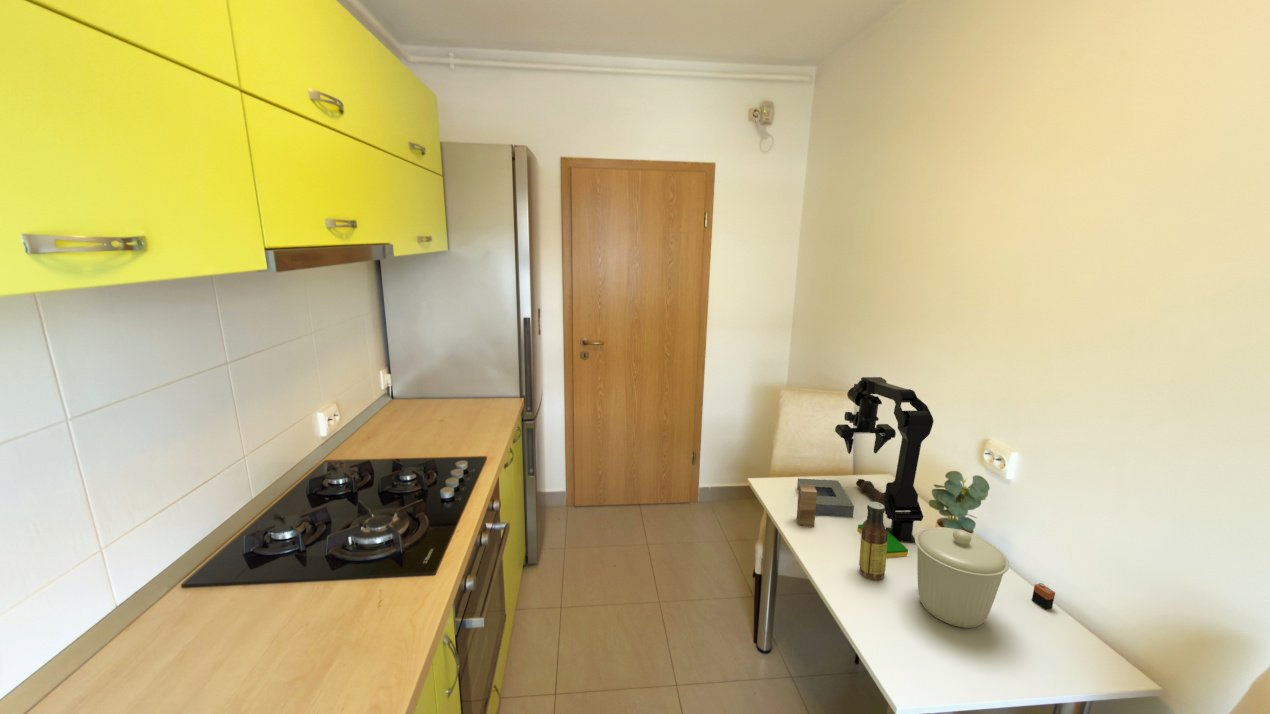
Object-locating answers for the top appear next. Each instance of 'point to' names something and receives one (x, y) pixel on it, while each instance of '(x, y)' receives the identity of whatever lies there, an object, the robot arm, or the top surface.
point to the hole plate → (830, 498)
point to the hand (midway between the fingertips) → (861, 453)
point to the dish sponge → (892, 545)
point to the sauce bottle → (873, 543)
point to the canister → (958, 575)
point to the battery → (1043, 596)
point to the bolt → (870, 490)
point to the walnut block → (806, 505)
